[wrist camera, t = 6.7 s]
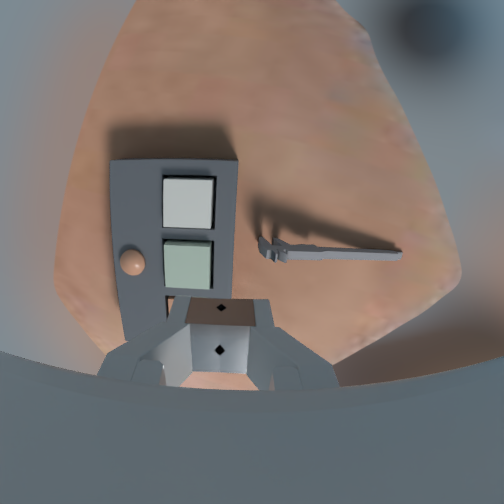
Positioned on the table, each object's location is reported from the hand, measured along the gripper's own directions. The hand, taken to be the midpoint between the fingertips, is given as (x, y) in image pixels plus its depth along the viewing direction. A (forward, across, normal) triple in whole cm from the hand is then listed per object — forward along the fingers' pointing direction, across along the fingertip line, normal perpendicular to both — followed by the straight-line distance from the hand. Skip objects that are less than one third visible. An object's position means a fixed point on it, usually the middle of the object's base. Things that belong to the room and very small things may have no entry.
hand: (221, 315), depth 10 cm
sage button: (+24, +4, +8) cm, 26 cm away
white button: (+25, +4, +2) cm, 25 cm away
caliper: (+27, -14, +7) cm, 31 cm away
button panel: (+27, +6, +9) cm, 29 cm away
